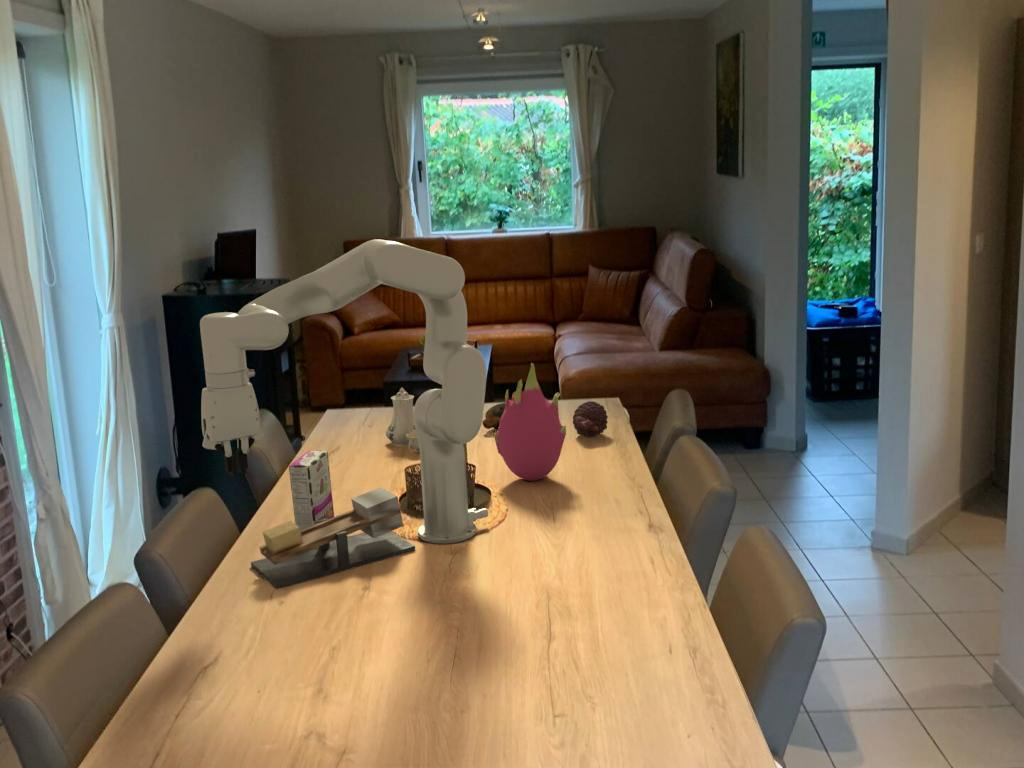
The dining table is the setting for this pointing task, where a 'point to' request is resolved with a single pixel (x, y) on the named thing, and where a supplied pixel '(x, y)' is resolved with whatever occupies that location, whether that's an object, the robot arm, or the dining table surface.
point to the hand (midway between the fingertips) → (237, 473)
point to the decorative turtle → (493, 416)
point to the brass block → (282, 538)
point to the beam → (349, 523)
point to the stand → (332, 558)
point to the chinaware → (403, 422)
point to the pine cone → (590, 419)
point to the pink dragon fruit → (530, 431)
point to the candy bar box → (311, 488)
